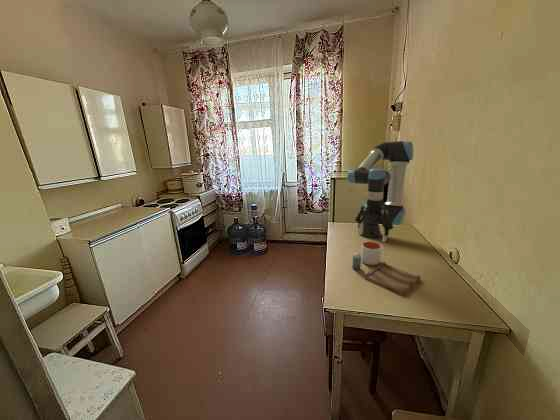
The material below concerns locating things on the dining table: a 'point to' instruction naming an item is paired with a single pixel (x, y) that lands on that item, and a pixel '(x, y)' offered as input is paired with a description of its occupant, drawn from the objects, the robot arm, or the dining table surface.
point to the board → (392, 278)
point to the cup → (371, 253)
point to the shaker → (356, 261)
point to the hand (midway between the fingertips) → (372, 237)
